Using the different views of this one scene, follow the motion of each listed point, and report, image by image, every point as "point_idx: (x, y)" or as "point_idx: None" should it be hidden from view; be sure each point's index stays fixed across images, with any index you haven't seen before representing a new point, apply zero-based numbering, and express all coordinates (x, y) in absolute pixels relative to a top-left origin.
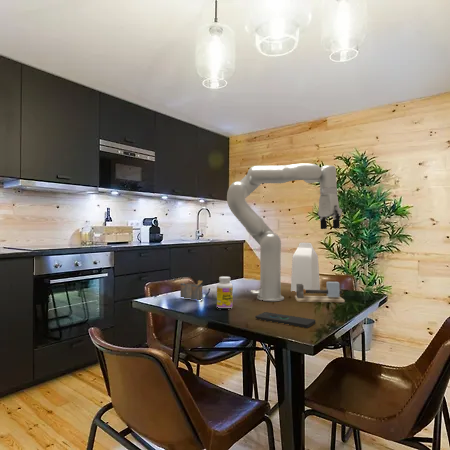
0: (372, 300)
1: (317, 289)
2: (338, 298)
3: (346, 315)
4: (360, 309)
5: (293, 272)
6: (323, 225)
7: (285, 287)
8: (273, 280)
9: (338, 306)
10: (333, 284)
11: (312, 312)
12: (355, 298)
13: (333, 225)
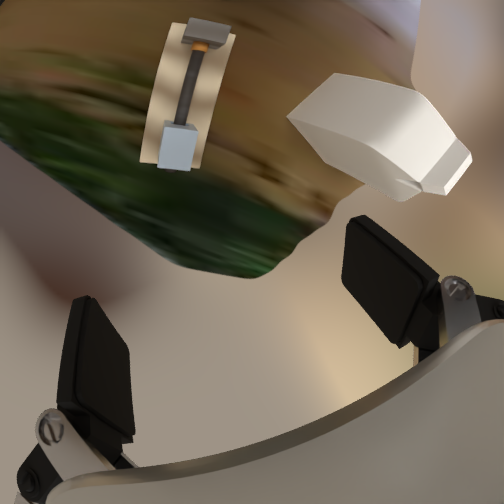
0: (164, 243)
1: (316, 149)
2: None
3: (5, 122)
4: (56, 173)
5: (370, 83)
6: (369, 268)
7: None
8: None
9: (88, 125)
10: (161, 144)
11: (35, 44)
12: (193, 211)
13: (71, 324)
